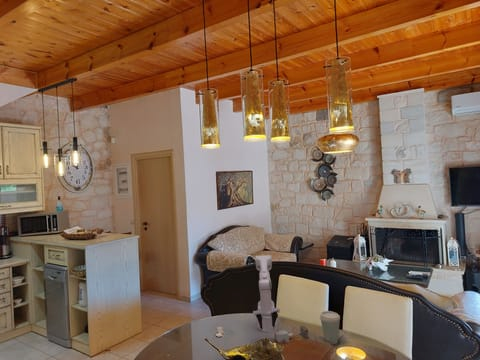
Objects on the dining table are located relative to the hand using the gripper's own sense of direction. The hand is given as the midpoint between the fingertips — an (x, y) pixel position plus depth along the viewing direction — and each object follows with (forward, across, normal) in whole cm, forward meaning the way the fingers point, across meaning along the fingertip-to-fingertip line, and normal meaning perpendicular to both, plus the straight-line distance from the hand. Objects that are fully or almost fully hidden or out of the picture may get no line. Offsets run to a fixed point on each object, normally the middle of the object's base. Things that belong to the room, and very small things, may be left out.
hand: (267, 327), depth 181 cm
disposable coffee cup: (+10, +33, -8) cm, 35 cm away
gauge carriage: (+8, +9, -1) cm, 12 cm away
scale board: (+9, +13, 0) cm, 16 cm away
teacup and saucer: (+10, -25, +23) cm, 35 cm away
